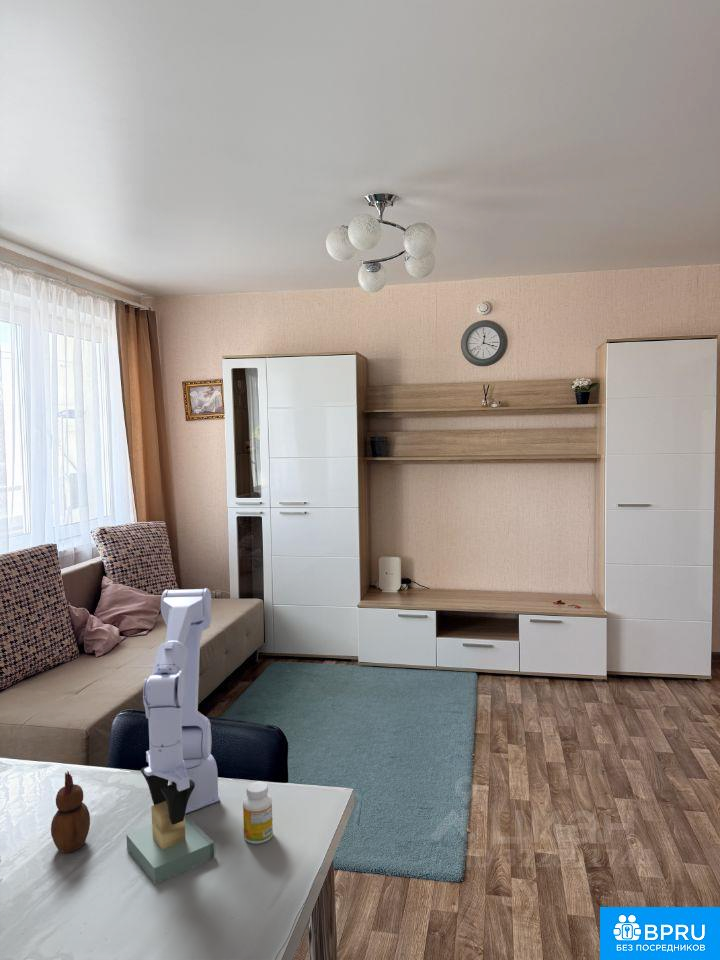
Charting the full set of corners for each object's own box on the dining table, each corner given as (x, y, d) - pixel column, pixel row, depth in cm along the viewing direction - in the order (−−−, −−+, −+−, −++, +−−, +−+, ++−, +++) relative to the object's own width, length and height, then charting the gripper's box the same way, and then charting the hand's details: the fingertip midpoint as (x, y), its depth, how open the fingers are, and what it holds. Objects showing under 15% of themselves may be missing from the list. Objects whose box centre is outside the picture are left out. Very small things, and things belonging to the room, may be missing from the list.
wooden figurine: (74, 859, 122) (71, 778, 122) (46, 855, 124) (42, 775, 123) (96, 837, 129) (93, 760, 128) (69, 834, 130) (65, 758, 129)
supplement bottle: (244, 829, 131) (243, 780, 130) (272, 827, 132) (271, 778, 131) (243, 846, 126) (241, 795, 125) (272, 843, 126) (271, 792, 126)
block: (175, 829, 127) (174, 797, 126) (185, 839, 123) (184, 807, 123) (152, 838, 124) (151, 806, 123) (162, 849, 120) (160, 816, 120)
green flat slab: (183, 827, 132) (182, 812, 132) (214, 858, 122) (213, 842, 122) (127, 850, 125) (126, 834, 125) (155, 885, 115) (154, 868, 115)
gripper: (129, 733, 126) (131, 804, 126) (160, 761, 114) (163, 839, 115) (165, 722, 130) (168, 791, 131) (199, 748, 119) (202, 823, 120)
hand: (168, 812), depth 123 cm, fingers open, 7 cm apart
